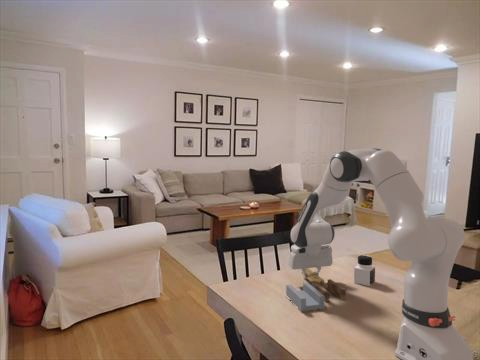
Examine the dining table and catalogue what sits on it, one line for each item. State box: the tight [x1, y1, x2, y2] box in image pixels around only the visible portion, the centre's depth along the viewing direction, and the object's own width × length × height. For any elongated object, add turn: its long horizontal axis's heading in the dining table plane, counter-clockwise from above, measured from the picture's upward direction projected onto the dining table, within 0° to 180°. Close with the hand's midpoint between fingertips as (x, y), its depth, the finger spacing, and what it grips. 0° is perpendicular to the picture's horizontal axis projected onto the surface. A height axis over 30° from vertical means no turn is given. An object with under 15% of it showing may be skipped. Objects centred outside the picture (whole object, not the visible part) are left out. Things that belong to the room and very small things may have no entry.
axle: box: [301, 268, 325, 287], centre depth 156 cm, size 14×4×4 cm, turn 15°
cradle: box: [285, 282, 325, 312], centre depth 136 cm, size 14×10×5 cm
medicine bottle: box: [353, 254, 376, 287], centre depth 156 cm, size 7×7×12 cm
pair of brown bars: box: [311, 278, 347, 303], centre depth 143 cm, size 12×9×4 cm
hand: (310, 276), depth 158 cm, fingers closed on axle, 4 cm apart
